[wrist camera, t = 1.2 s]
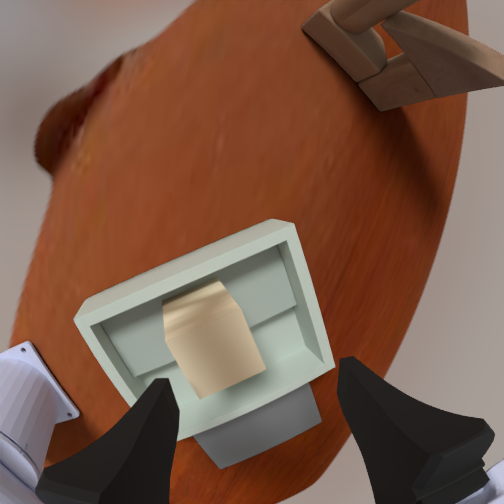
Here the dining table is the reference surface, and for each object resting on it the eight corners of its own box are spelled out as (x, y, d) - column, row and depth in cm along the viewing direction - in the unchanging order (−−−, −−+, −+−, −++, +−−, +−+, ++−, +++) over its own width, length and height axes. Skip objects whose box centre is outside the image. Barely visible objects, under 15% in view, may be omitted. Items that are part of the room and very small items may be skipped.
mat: (219, 466, 26) (220, 469, 26) (184, 423, 24) (185, 426, 23) (320, 419, 28) (321, 421, 28) (303, 369, 26) (305, 371, 26)
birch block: (186, 348, 20) (199, 399, 15) (162, 300, 19) (165, 341, 14) (237, 326, 21) (266, 369, 16) (216, 276, 20) (240, 308, 14)
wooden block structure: (379, 114, 24) (559, 81, 7) (298, 28, 20) (449, -86, 3) (395, 93, 24) (556, 57, 7) (320, 11, 21) (460, -86, 4)
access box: (159, 415, 23) (162, 446, 19) (86, 298, 20) (73, 319, 16) (312, 345, 26) (335, 366, 22) (271, 218, 23) (293, 223, 19)
